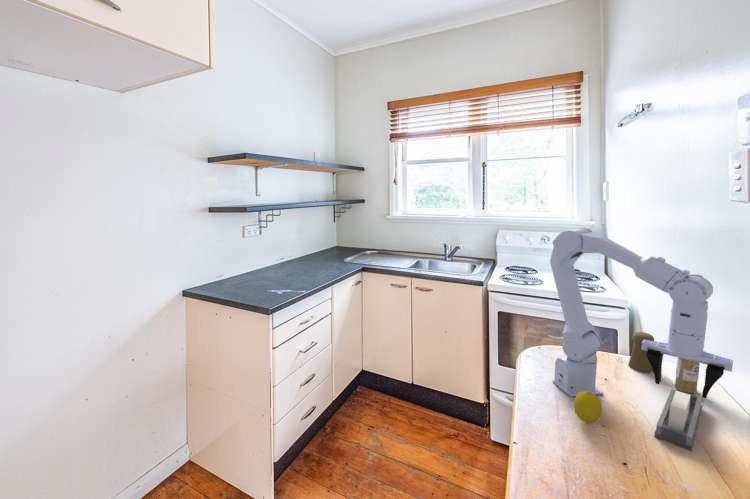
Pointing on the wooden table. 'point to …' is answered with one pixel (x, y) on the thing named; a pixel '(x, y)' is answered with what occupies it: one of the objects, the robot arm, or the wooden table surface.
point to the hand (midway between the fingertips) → (680, 389)
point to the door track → (689, 434)
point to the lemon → (588, 407)
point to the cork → (640, 353)
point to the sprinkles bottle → (687, 375)
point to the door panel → (679, 411)
